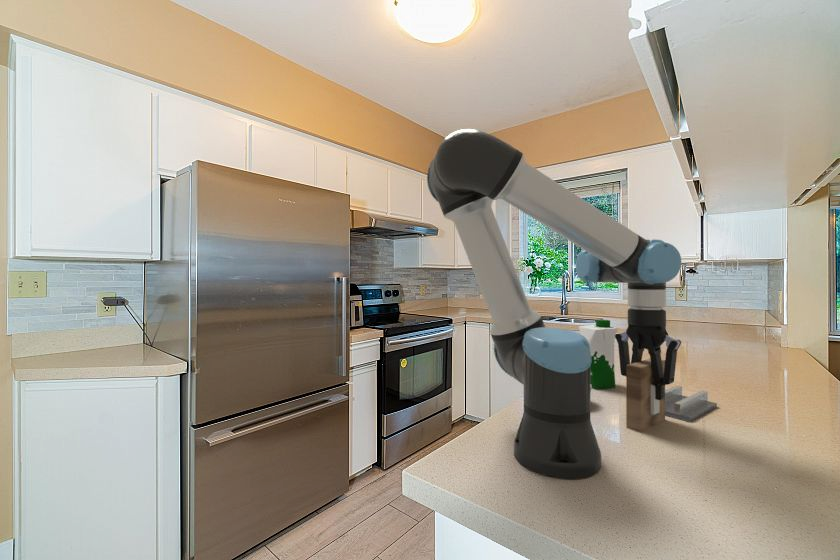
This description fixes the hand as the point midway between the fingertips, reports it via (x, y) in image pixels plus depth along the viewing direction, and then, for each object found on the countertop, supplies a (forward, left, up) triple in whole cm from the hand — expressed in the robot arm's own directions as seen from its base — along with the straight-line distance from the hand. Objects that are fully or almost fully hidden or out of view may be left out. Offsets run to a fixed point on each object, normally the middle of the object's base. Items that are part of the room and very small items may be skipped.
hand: (646, 410), depth 87 cm
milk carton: (+20, +23, -3) cm, 31 cm away
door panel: (0, 0, -3) cm, 3 cm away
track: (+17, 0, -3) cm, 18 cm away
